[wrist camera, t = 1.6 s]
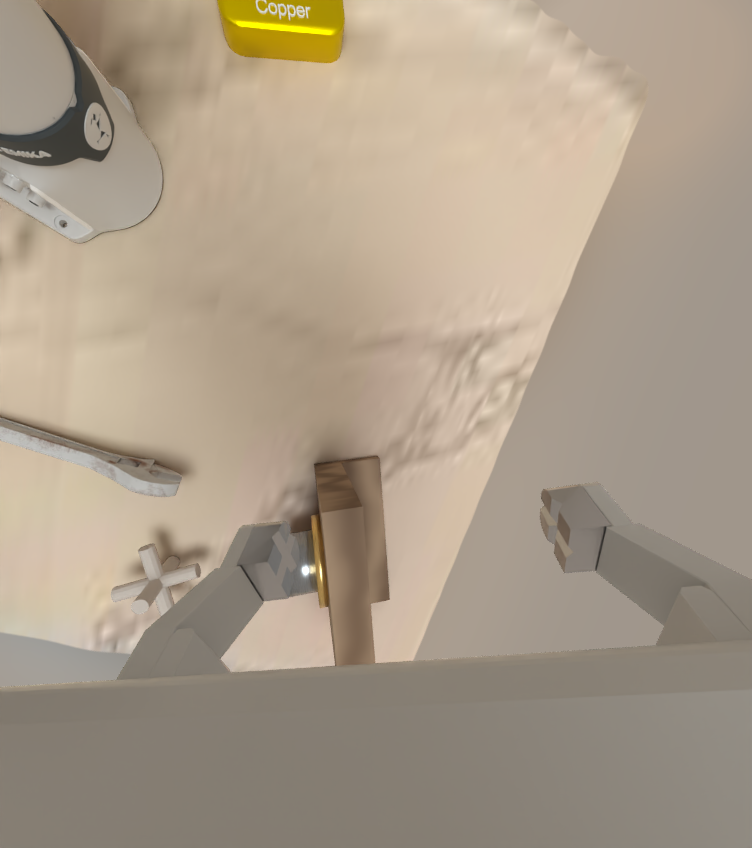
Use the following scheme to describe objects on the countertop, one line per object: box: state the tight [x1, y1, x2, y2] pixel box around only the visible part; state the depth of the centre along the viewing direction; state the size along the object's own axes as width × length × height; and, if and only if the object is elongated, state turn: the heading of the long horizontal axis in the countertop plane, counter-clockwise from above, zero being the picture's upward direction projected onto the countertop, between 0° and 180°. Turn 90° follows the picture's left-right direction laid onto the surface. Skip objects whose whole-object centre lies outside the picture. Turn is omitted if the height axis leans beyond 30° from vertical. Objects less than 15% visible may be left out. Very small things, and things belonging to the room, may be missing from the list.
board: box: [314, 456, 390, 666], centre depth 44 cm, size 10×24×20 cm, turn 4°
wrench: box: [0, 417, 182, 497], centre depth 41 cm, size 8×2×30 cm
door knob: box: [289, 514, 329, 608], centre depth 46 cm, size 5×12×12 cm, turn 4°
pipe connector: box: [111, 544, 201, 616], centre depth 43 cm, size 10×10×10 cm
